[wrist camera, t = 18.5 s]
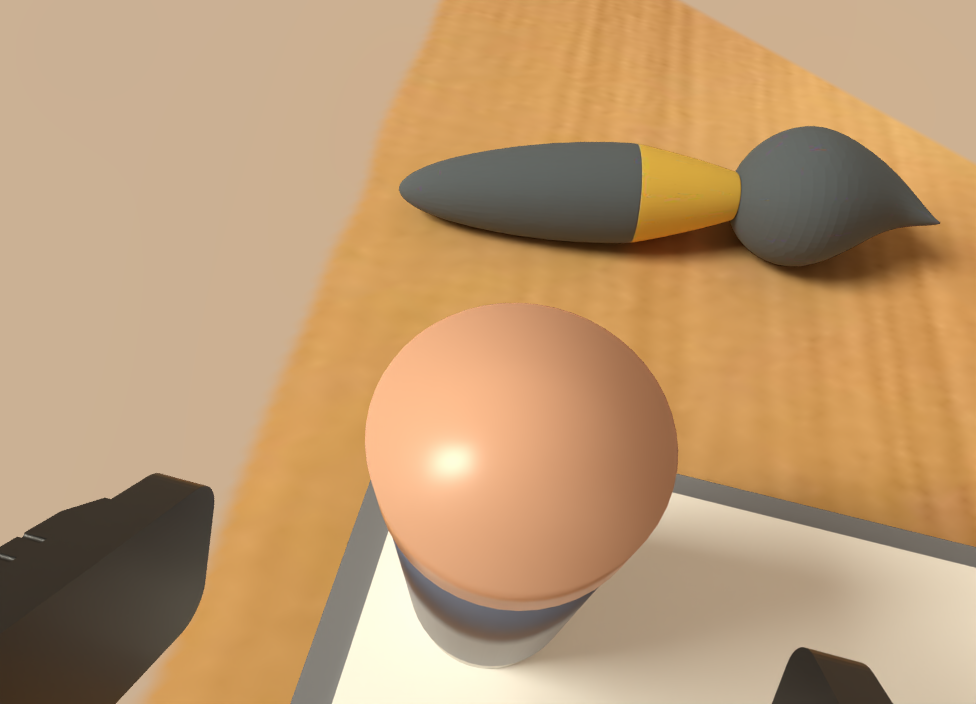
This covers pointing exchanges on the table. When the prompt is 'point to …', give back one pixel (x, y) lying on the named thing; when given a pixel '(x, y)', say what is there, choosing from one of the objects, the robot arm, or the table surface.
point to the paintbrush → (677, 194)
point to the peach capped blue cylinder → (516, 472)
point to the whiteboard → (678, 615)
